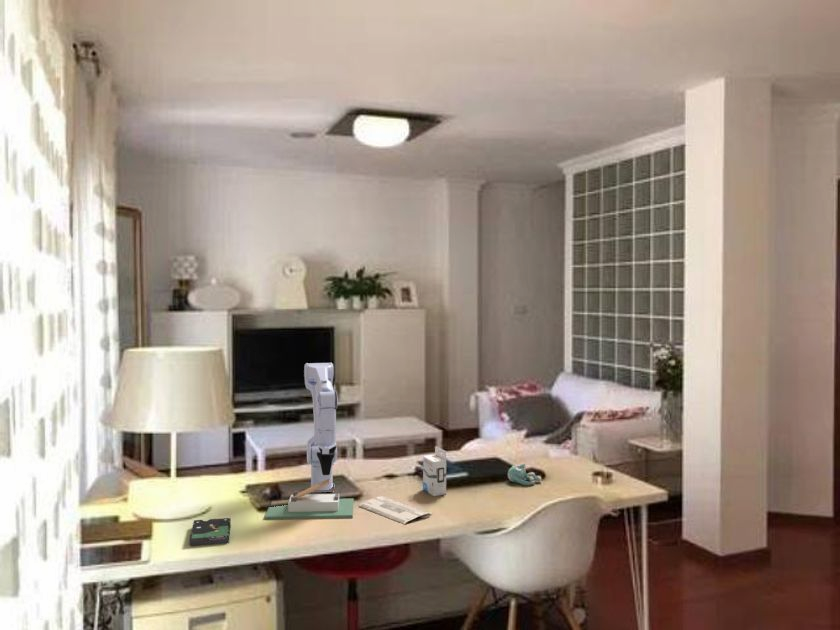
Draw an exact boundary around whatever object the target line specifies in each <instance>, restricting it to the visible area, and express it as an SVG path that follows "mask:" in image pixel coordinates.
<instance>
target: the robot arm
mask: <svg viewBox="0 0 840 630" xmlns="http://www.w3.org/2000/svg"><path fill="white" fill-rule="evenodd" d="M303 368H304V370H303V373H304V374H303V377H304V385H305V388H306V390H308V391H310V394H311V398H312V411H313V414H312V415H313V430H314V431H313V432H314V435H313V436H312V437H310V439H308V440H307V443H306V462H307V463H308V464H309V465H310V471H311V472H310V475H311V476H310V487H312V486H314V485H316V484H318V483H320V482H323V481H325V480H327V479H329V478H330V484H328V485H326V486H324V487H321V488H319V489H317V490H329V489H331V488H332V487H333V484H334V483H333V475H334V474H333V468H334V467H333V466H335V465H334V463H337V460H338V448H337V447H338V446H337V444H338V443H337V409H338V404H339V403H338V402H339V399H338V392H337V390H334V387H333V380H334V374H335V371H334V363H332V362H314V363H313V362H312V363H311V362H310V363H308V362H306V363H305V364H304V367H303Z"/></svg>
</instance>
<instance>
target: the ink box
mask: <svg viewBox="0 0 840 630" xmlns="http://www.w3.org/2000/svg"><path fill="white" fill-rule="evenodd" d="M434 450H435V451H434V454H430V455H423V456H422V457H423V458H422V459H423V461H422V463H423V464H422V465H423V467H422V468H423V470H422V474H423V475H422V478H423V479H422V490H423V491H425V492H427V493H428V494H429V495H430V496H432V497H438V496H444V495H447V450H444V449H443V448H440V447H439V446H436V445H435V446H434Z"/></svg>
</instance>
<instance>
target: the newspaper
mask: <svg viewBox="0 0 840 630" xmlns="http://www.w3.org/2000/svg"><path fill="white" fill-rule="evenodd" d="M358 507H359V508H362V509H364V510H367V511H369V512H371V513H374V514H377V515H379V516H381V517H384V518H388V519H389V520H392V521H395V522H397V523H399V524H402V525H406V524H407V523H408V522H410V521H413V520H414V519H416V518H418V517H419V518H422V519H425V518H429V517H430V516H431V514H432V512H430V511H428V510H424V509H422V508H418V507H415V506H411V505H409V504H405V503H404V502H403V503H402V502H401V501H397V500H395V499H392V498H388V497H386V496H383V495H380V496H379V495H378V496H377V497H373V498H370V499H368V500H366V501H364V502H362V503H359V505H358Z"/></svg>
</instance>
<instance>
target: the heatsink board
mask: <svg viewBox="0 0 840 630" xmlns="http://www.w3.org/2000/svg"><path fill="white" fill-rule="evenodd" d="M297 493H299V491H292V494H291V495H290V497H289V499H288V500H289V502H288V505H284V506H283V505H282V506H276V507H275V506H274V507H269V506H268V507H267V511H266V513H265V516H264V520H299V519H301V520H303V519H306V520H307V519H309V520H310V519H346V518H347V519H349V518H352V519H353V517H354V516H353V515H354V504H355V503H354V502H355V499H354V498H355V497H354V498H340V493H337V492H336V493H309V494H307V495H305V496H302V497H300V498H298V499H297V497H294V495H295V494H297Z"/></svg>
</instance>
